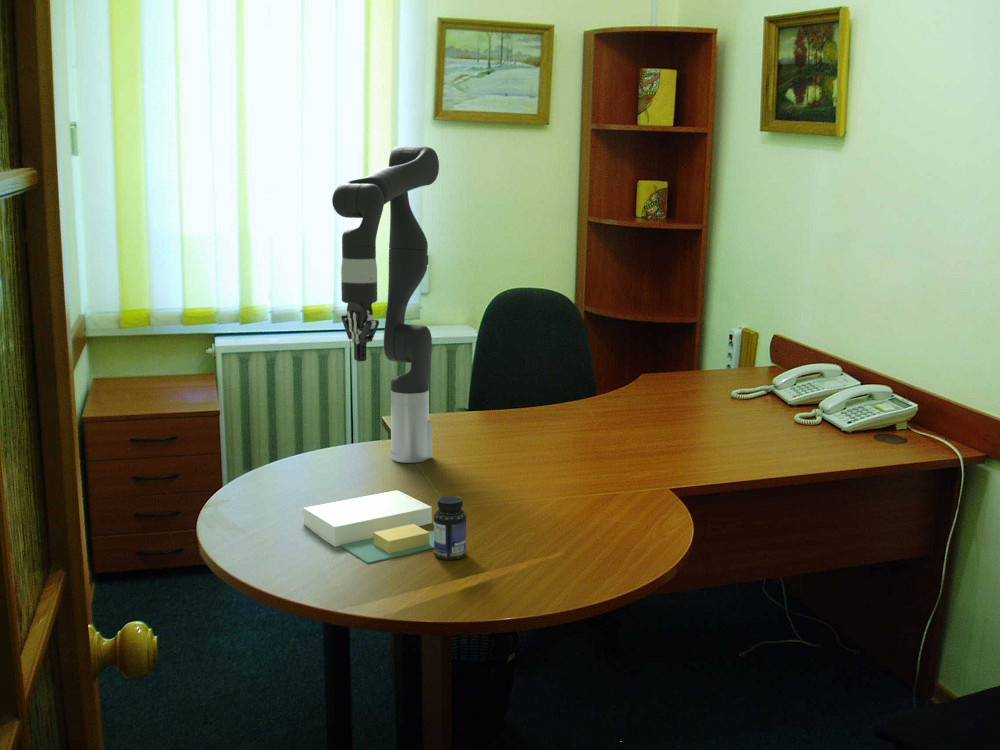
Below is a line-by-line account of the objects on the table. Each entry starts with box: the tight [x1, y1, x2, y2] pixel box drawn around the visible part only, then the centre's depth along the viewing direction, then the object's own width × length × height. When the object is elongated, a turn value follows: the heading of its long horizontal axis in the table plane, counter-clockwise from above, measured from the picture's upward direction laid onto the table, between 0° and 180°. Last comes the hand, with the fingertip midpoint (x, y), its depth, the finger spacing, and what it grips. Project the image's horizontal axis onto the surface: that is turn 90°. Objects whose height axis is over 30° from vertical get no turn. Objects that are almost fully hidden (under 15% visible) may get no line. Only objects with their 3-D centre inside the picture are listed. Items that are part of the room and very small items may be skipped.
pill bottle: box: [433, 495, 467, 561], centre depth 180 cm, size 6×6×11 cm
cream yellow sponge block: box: [373, 524, 430, 553], centre depth 185 cm, size 9×6×2 cm, turn 126°
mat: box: [339, 530, 434, 565], centre depth 186 cm, size 20×11×1 cm, turn 126°
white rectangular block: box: [303, 489, 433, 548], centre depth 196 cm, size 22×14×4 cm, turn 126°
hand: (360, 360), depth 205 cm, fingers closed
